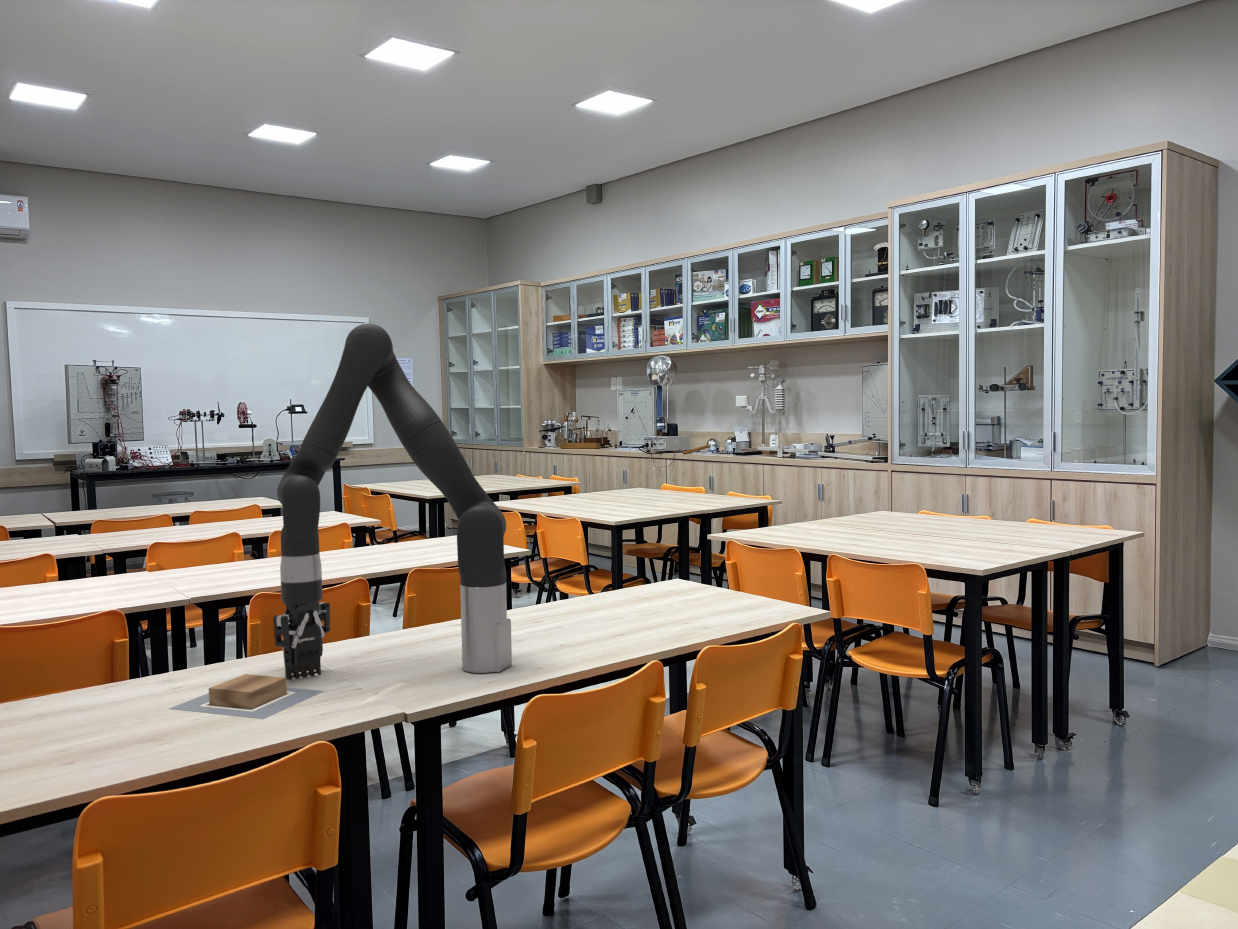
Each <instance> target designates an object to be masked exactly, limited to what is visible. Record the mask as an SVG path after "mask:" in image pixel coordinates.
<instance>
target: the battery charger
mask: <svg viewBox="0 0 1238 929" xmlns="http://www.w3.org/2000/svg"><path fill="white" fill-rule="evenodd" d="M296 630H297V629H294V628H292V627H289V631H296ZM289 637H290V641H292V637H293V636H291V635H289ZM322 640H323V638H322V635H321V628H320V626H319V625H318V624H316V623H314V622H313V623H309V624H307V625H305V627H304V630H303V633H302V636H301V637H299V639H298V642H297V645H296V647H295V648H297V666H296V667H294V668H292V667H286V665H285V663H284V662H283V665H284V678H286V681H287V680H288V681H289V680H296V679H303V678H306V677H307V678H310V677H312V676H313V677H316V676H321V675H322V670H321V669H322V668H321V667H322V666H321V665H322V664H321V657H322V656H321V648H322ZM282 655H283V657H284V648H283V647H282ZM284 660H285V659H284V658H283V661H284Z"/></svg>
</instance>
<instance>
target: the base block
mask: <svg viewBox="0 0 1238 929" xmlns="http://www.w3.org/2000/svg"><path fill="white" fill-rule="evenodd" d="M287 687H288V686H287V679H286V678H285V676H284V677H283V676H281V677H280V676H271V675H260V674H251V673H250V674H249V673H245V674H242V675H240V676H237V677H234V678H232V679H230V680H227V681H224V682H221V683H219V684H216V685H213V686H211V687H208V693H209V705H213V706H222V707H232V708H242V709H254V708H256V707H258V706H261V705H263V704H265V703H267V702H270V701H272V700H274V699H277V698H279V697H281V696H283V695H286V694H287Z"/></svg>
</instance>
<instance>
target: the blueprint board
mask: <svg viewBox="0 0 1238 929" xmlns="http://www.w3.org/2000/svg"><path fill="white" fill-rule="evenodd" d="M324 692H325V690H319V689H318V690H317V689H308V688H299V687H298V688H296V687H290V686H287V694H286V695H283V696H281V697H279V698H277V699H274V700H272V701H270V702H267V703H265V704H263V705H261V706H258V707H256V708H254V709H242V708H232V707H222V706H213V705H209V692H208V693H205V694H203V695H200V696H198V697H195V698H192V699H190V700H187V701H185V702H182V703H180V704H177V705H174V706H172V707H170V708H168V710H173V711H174V710H176V711H183V712H191V713H193V712H194V713H202V714H211V715H220V716H229V717H230V716H231V717H240V718H247V719H249V718H250V719H259V720H265V719H267V718H269V717H271V716H274V715H276V714H277V713H280V712H282V711H284V710H287V709H289V708H292V707H293V706H295V705H297V704H300V703H302V702H304V701H306V700H308V699H310V698H313V697H315V696H317V695H319V694H322V693H324Z"/></svg>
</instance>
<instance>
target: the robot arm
mask: <svg viewBox="0 0 1238 929" xmlns="http://www.w3.org/2000/svg"><path fill="white" fill-rule="evenodd" d="M393 346H394V345H393V341H392V339H391V337H390V335H389V333H388V332H387V330H385V329H384V328H383V327H382V326H381V325H378V324H375V323H363V324H359V325H356V326H355V327H354V328H353V329H351V330H350V332H349V333H348V335H347V336H346V337H345V342H344V346H343V350H342V354H341V358H340V361H339V364H338V366H337V367H338V368H337V370H336V372H335V375H334V377H333V380H332V383H331V385H330V388H329V390H328V391H327V394H326V395H325V398H324V400H323V401H322V403H321V406H319V409H318V411H317V412H316V415H315V417H314V419H313V420H312V422H311V424H310V426H309V428H308V430H307V432H306V434H305V436H304V437H303V440H302V442H301V444H300V446H299V449H298V451H297V453H296V456H294V458H293V459H292V461H291V463H290V464H289V466H288V467H287V469H286V470H285V472H284V473H283V475H282V477H281V479H280V482H279V483H278V485H277V490H276V497H277V499H278V501H279V503H280V504H281V506H282V522H283V526H282V528H281V531H280V564H279V565H280V567H279V572H280V600H281V603H283V605H285V611H284V613H283V614H281V615H277V614H275V615H274V616H273V618H272V620H273V621H272V622H273V631H274V632H273V633H274V634H273V635H274V646H276V647H278V648H279V647H280V648H282V649H283V648H284V656H283V664H284V663H285V665H286V667H292V668H294V667H296V666H297V648H295V647H296V645H297V642H298V639H299V637H301V636H302V633H303V630H304V627H305V625H307V624H309V623H313V622H314V623H316V624H318V625H319V626H320V628H321V635H322V648H321V657H323V652H324V650H323V649H324V648H323V645H324V644H323V642H324V641H323V638H324V637H325V634H326V633H330V631H331V604H330V603H329V602H325V601H321V600H323V577H322V576H323V575H322V570H323V569H322V562H321V557H320V555H321V553H320V551H321V550H320V536H319V535H320V533H319V525H320V524H319V523H320V515H321V514H320V513H321V491H320V486H319V485H320V483H321V482H322V481H323V480H322V479H323V478H324V476H325V474H326V472H327V471H328V470H329V469H330V468H332V466H333V465H334V463H335V461H336V459H337V457H338V456H339V454H340V452H341V450H342V447H343V446H344V443H345V441H346V439H347V436H348V434H349V432H350V429H351V427H352V424H353V422H354V418H355V416H356V414H357V410H358V408H359V405H360V402H362V401H361V400H362V398H363V396H364V394H365V391H366V390H367V388H368V389H369V390H370V391H371V393H372V394H373V395H374V396H375V398H376V399H377V400H378V403H379V404H380V406H381V407H382V410H383V411H384V413H385V415H386V418H387V420H388V422H389V424H390V425H391V427H392V429H393V431H394V432H395V435H396V436H397V438H398V440H399V442H400V443H401V445H402V446H403V448H404V449H405V451H406V453H407V454H408V456H409V457H410V459H411V460H412V462H413V463H414V464H415V466H416V467H417V468H418V469H419V471H421V473H422V474H423V475H424V476H425V477H426V478H427V479H428V481H430V483H432V484H433V485H434V486H435V488H437V489H438V491H440V492H441V494H442V495H443V496H444V497H445V499H446V500H447V502H448V504H449V505H450V508H451V510H452V511H453V512H454V514H455V516H456V518H457V520H458V521H457V526H456V550H457V553H456V554H457V568H458V569H457V570H458V574H459V582H460V583H459V584H460V585H459V586H460V623H461V624H460V625H461V627H460V628H461V629H460V631H461V632H460V633H461V634H460V636H461V661H462V662H461V665H462V667H461V668H462V670H463V671H465V672H468V673H472V674H473V673H475V674H487V673H500V672H502V671H503V670H505V669H507V668H508V667H510V666H512V665H513V658H512V657H513V652H512V649H513V648H512V646H513V645H512V620H511V618H508V612H507V611H508V609H507V607H508V606H507V570H506V565H505V564H506V563H505V546H504V545H505V543H504V541H505V540H504V537H505V535H506V530H507V521H506V517H505V516H504V514H503V512H502V511H501V509H500V508H499V507H498V506H497V505H496V503H495V502H494V501H493V499H491V497H490V496H489V495H488V493H487V492H486V491H485V490H484V488H483V487H482V485H481V484H480V483H479V482H478V480H477V479H476V477H475V475H474V474H473V472H472V470H471V468H470V466H469V464H468V462H467V461H466V459H465V457H464V454H463V453H462V452H461V450H460V448H459V446H458V445H457V442H456V441H455V439H454V438H453V436H452V434H451V433H450V431H449V430H448V428H447V426H446V425H445V423H444V422H443V420H442V419H441V417H440V415H438V414H437V412H436V411H435V409H434V408H433V407H432V406H431V405H430V404H429V403H428V401H427V400H426V399H425V398H424V397H423V396H422V395H421V394H420V392H418V391H417V390H416V389H415V388H414V386H413V385H412V384H411V382H410V381H409V379H408V377H407V376H406V373H405V372H404V370H403V368H402V366H401V365H400V363H399V361H398V359H397V357H396V355H395V352H394V347H393ZM289 627H292V628H294V629H297V630H296V631H289ZM289 635H291V636H293V637H292V641H290V637H289ZM284 659H285V660H284Z"/></svg>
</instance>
